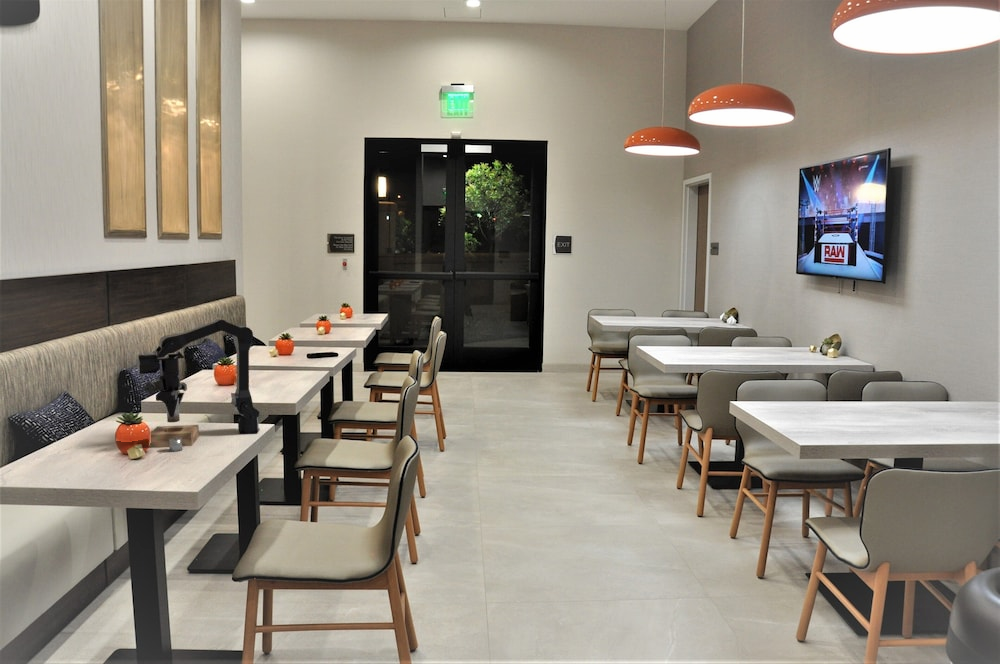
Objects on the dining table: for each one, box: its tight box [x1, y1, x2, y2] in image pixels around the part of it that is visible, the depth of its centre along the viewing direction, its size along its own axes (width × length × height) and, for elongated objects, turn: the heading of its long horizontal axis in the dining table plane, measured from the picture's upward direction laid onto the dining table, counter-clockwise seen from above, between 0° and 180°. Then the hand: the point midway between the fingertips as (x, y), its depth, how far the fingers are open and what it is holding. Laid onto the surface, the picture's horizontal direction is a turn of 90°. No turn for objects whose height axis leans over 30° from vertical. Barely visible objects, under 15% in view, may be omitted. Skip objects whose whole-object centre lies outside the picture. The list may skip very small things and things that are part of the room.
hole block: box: [148, 424, 200, 449], centre depth 270 cm, size 14×12×4 cm
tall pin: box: [166, 400, 181, 423], centre depth 269 cm, size 4×4×8 cm
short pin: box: [168, 437, 183, 453], centre depth 260 cm, size 4×4×4 cm
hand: (173, 415), depth 269 cm, fingers closed on tall pin, 4 cm apart
